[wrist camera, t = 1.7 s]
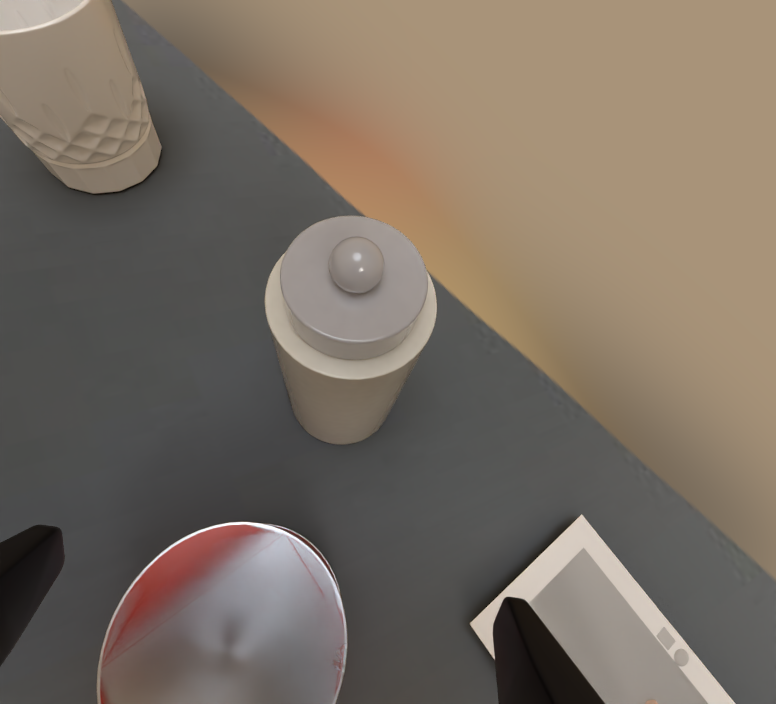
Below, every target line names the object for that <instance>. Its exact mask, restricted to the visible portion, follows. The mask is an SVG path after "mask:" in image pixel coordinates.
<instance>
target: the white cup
mask: <svg viewBox="0 0 776 704" xmlns="http://www.w3.org/2000/svg"><path fill="white" fill-rule="evenodd" d="M0 118H1V119H2V120H3V121H4V122H5V123H6V124H7V125H8V126H9V127H10V129H11V130H12V131H13V132H14V133H15V134H16V135H17V137H18V138H19V139H20V140H21V141H22V142H23V143H24V144H25V145H26V146H27V147H28V148H29V149H31V150H32V151H33V152H34V154H35V155H36V156H37V157H38V158H39V159H40V161H41V162H42V163H43V164H44V165H45V167H46V168H47V169H48V170H49V171H50V172H51V173H52V174H53V175H54V176H55V177H57V178H58V179H59V180H60V181H61V182H63V183H64V184H65V185H66V186H68V187H69V188H73V189H77V190H81V191H85V192H89V193H93V194H96V193H107V192H119V191H122V190H124V189H126V188H129V187H131V186H133V185H135V184H138V183H140V182H142V181H143V180H144V179H145V178H146V177H147V176H148V175H149V174H150V173H151V172H152V171H153V170H154V169H155V168H156V167H157V165H158V161H159V157H160V153H161V149H162V147H161V144H160V141H159V139H158V136H157V133H156V131H155V128H154V126H153V123H152V120H151V116H150V113H149V110H148V102H147V100H146V97H145V94H144V91H143V88H142V84H141V81H140V78H139V75H138V73H137V70H136V67H135V64H134V62H133V59H132V56H131V53H130V51H129V48H128V45H127V42H126V39H125V37H124V34H123V31H122V28H121V26H120V23H119V20H118V18H117V15H116V12H115V9H114V6H113V4H112V1H111V0H0Z"/></svg>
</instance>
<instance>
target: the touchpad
mask: <svg viewBox="0 0 776 704" xmlns="http://www.w3.org/2000/svg"><path fill="white" fill-rule="evenodd" d="M505 597H515V598H521V599H524V600H526V601H527V602H528V603H529V605H530V606H531V607H532V609H533V610H534V611H535V613H536V614H537V615H538V616H539V618H540V619H541V620H542V622H543V623H544V624H545V626H546V627H547V628H548V630H549V631H550V632H551V633H552V635H553V636H554V637H555V639H556V640H557V641H558V643H559V644H560V645H561V646H562V648H563V649H564V650H565V652H566V653H567V654H568V656H569V657H570V658H571V660H572V661H573V662H574V663H575V665H576V666H577V667H578V669H579V670H580V671H581V673H582V674H583V675H584V677H585V678H586V679H587V680H588V682H589V683H590V684H591V686H592V687H593V688H594V690H595V691H596V692H597V693H598V695H599V696H600V697H601V699H602V700H603V701H604V703H605V704H735V703H734V701H733V700H732V699H731V698H730V697H729V695H728V694H727V693H726V692H725V690H724V689H723V688H722V687H721V685H720V684H719V683H718V682H717V681H716V679H715V678H714V677H713V676H712V674H711V673H710V672H709V671H708V669H707V668H706V667H705V666H704V664H703V663H702V662H701V661H700V660H699V658H698V657H697V656H696V655H695V653H694V652H693V651H692V650H691V648H690V647H689V646H688V645H687V644H686V642H685V641H684V640H683V639H682V637H681V636H680V635H679V634H678V632H677V631H676V630H675V629H674V628H673V626H672V625H671V624H670V623H669V621H668V620H667V619H666V618H665V616H664V615H663V614H662V613H661V612H660V610H659V609H658V608H657V607H656V605H655V604H654V603H653V602H652V600H651V599H650V598H649V597H648V596H647V594H646V593H645V592H644V591H643V589H642V588H641V587H640V586H639V584H638V583H637V582H636V581H635V580H634V578H633V577H632V576H631V575H630V573H629V572H628V571H627V570H626V568H625V567H624V566H623V565H622V564H621V562H620V561H619V560H618V559H617V557H616V556H615V555H614V554H613V552H612V551H611V550H610V549H609V548H608V546H607V545H606V544H605V543H604V541H603V540H602V539H601V538H600V536H599V535H598V534H597V533H596V531H595V530H594V529H593V528H592V527H591V525H590V524H589V523H588V522H587V520H586V519H585V518H584V517H583V515H580V516H579V517H578V518H577V519H576V520H575V521H574V522H573V523H572V524H571V525H570V526H569V527H568V528H567V529H566V530H565V531H564V532H563V533H562V534H561V535H560V536H559V537H558V538H557V539H556V540H555V541H554V542H553V543H552V544H551V545H550V546H549V547H548V548H547V549H546V550H545V551H544V552H543V553H541V554H540V555H539V556H538V557H537V558H536V559H535V560H534V561H533V562H532V563H531V564H530V565H529V566H528V567H527V568H526V569H525V570H524V571H523V572H522V573H521V574H520V575H519V576H518V577H517V578H516V579H515V580H514V581H513V582H512V583H511V584H510V585H509V586H508V587H507V588H506V589H505V590H504V591H503V592H501V593H500V594H499V595H498V596H497V597H496V598H495V599H494V600H493V601H492V602H491V603H490V604H489V605H488V606H487V607H486V608H485V609H484V610H483V611H482V612H481V613H480V614H479V615H478V616H477V617H476V618H475V619H474V620H473V621H472V622H471V623H470V625H471V627H472V628H473V630H474V631H475V632H476V634H477V635H478V637H479V638H480V640H481V641H482V642H483V644H484V645H485V647H486V648H487V650H488V651H489V652H490V654H491V655H492V657H493V658H494V660H495V655H494V644H493V624H494V621H495V618H496V616H497V613H498V611H499V609H500V606H501V604H502V601H503V600H504V598H505Z"/></svg>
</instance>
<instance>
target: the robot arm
mask: <svg viewBox="0 0 776 704" xmlns="http://www.w3.org/2000/svg"><path fill="white" fill-rule="evenodd" d="M64 559H65V555H64V546H63V537H62V531H61V530H60V528H58V527H53V526H47V525H36V526H33V527H31V528H29V529H27V530H25V531H23V532H21V533H19V534H17V535H15V536H13V537H11V538H9V539H7V540H5V541H3V542H1V543H0V666H1V665H2V663H3V662H4V661H5V659H6V658H7V656H8V655H9V654H10V652H11V650H12V649H13V647H14V646H15V644H16V643H17V641H18V640H19V638H20V636H21V635H22V633H23V631H24V630H25V628H26V627H27V625H28V623H29V622H30V620H31V618H32V617H33V615H34V613H35V612H36V610H37V609H38V607H39V605H40V604H41V602H42V600H43V599H44V597H45V595H46V594H47V592H48V591H49V589H50V587H51V586H52V584H53V582H54V581H55V579H56V578H57V576H58V574H59V573H60V571H61V569H62V567H63V564H64ZM493 644H494V655H495V666H496V677H497V688H498V699H499V704H605V703H604V701H603V700H602V699H601V697H600V696H599V695H598V693H597V692H596V691H595V690H594V688H593V687H592V686H591V684H590V683H589V682H588V680H587V679H586V678H585V677H584V675H583V674H582V673H581V671H580V670H579V669H578V667H577V666H576V665H575V663H574V662H573V661H572V660H571V658H570V657H569V656H568V654H567V653H566V652H565V650H564V649H563V648H562V646H561V645H560V644H559V643H558V641H557V640H556V639H555V637H554V636H553V635H552V633H551V632H550V631H549V630H548V628H547V627H546V626H545V624H544V623H543V622H542V620H541V619H540V618H539V616H538V615H537V614H536V613H535V611H534V610H533V609H532V607H531V606H530V605H529V603H528V602H527V601H526V600H524V599H521V598H515V597H505V598H504V600H503V601H502V604H501V606H500V609H499V611H498V613H497V616H496V618H495V621H494V624H493Z"/></svg>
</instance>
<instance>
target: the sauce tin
mask: <svg viewBox="0 0 776 704" xmlns="http://www.w3.org/2000/svg"><path fill="white" fill-rule="evenodd" d="M347 648H348V644H347V624H346V616H345V610H344V606H343V602H342V597H341V593H340V589H339V585H338V582H337V579H336V577H335V574H334V572H333V570H332V568H331V566H330V564H329V562H328V561H327V559H326V558H325V557H324V555H323V554H322V553H321V551H320V550H319V549H318V548H317V547H316V546H315V545H314V544H313V543H312V542H310V541H309V540H308V539H307V538H305V537H304V536H302V535H300V534H299V533H297V532H295V531H293V530H291V529H288V528H286V527H283V526H279V525H274V524H267V523H258V522H247V521H241V522H227V523H222V524H216V525H213V526H209V527H206V528H203V529H200V530H198V531H196V532H193V533H191V534H189V535H187V536H185V537H183V538H182V539H180V540H178V541H177V542H175V543H173V544H172V545H170V546H169V547H168V548H166V549H165V550H164V551H162V552H161V553H160V554H158V555H157V556H156V557H155V558H154V559H153V560H152V561H151V562H150V563H149V564H148V565H147V566H146V567H145V568H144V569H143V570H142V571H141V573H140V574H139V575H138V576H137V577H136V578H135V580H134V581H133V582H132V584H131V585H130V587H129V588H128V589H127V591H126V592H125V594H124V595H123V597H122V599H121V601H120V602H119V604H118V606H117V608H116V610H115V612H114V614H113V616H112V619H111V621H110V623H109V626H108V628H107V631H106V634H105V638H104V641H103V645H102V648H101V652H100V658H99V664H98V671H97V701H98V704H335V703H336V701H337V698H338V695H339V692H340V688H341V685H342V681H343V677H344V672H345V667H346V658H347Z"/></svg>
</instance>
